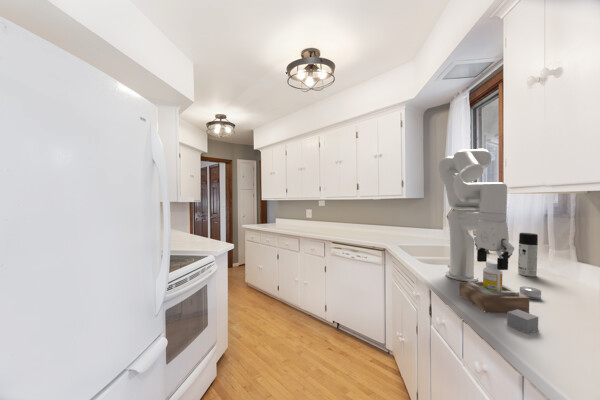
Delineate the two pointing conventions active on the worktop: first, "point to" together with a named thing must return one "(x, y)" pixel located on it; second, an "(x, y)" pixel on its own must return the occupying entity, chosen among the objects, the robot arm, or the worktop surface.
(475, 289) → the walnut stand
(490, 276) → the supplement bottle
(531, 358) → the worktop surface
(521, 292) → the metal tin
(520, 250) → the spray can
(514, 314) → the grey rubber block
